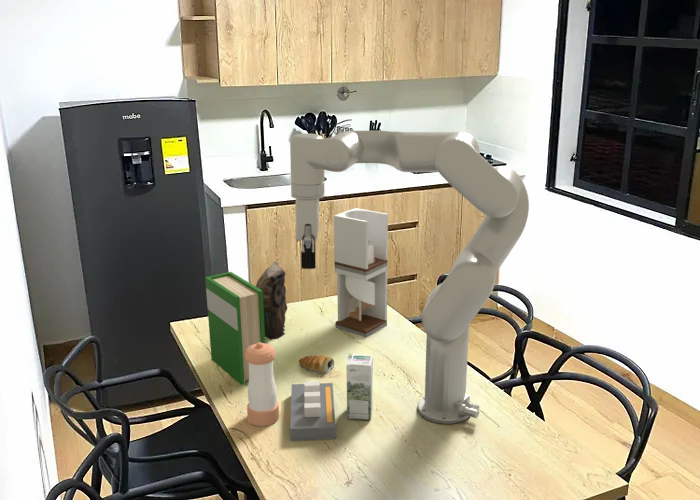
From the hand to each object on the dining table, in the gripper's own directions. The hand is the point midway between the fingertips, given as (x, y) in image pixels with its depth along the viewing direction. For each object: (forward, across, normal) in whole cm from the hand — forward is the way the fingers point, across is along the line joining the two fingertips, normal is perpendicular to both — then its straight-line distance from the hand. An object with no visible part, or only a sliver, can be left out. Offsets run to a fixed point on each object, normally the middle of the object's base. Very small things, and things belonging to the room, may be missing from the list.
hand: (308, 261), depth 166 cm
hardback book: (+35, -15, -19) cm, 43 cm away
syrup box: (+35, +10, +12) cm, 38 cm away
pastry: (+35, -14, +2) cm, 38 cm away
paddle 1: (+31, +5, 0) cm, 32 cm away
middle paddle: (+31, +10, +1) cm, 33 cm away
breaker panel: (+35, +10, +1) cm, 36 cm away
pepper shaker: (+35, +11, -11) cm, 38 cm away
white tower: (+35, -39, +15) cm, 55 cm away
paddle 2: (+31, +15, +1) cm, 35 cm away
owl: (+35, -39, -13) cm, 54 cm away
